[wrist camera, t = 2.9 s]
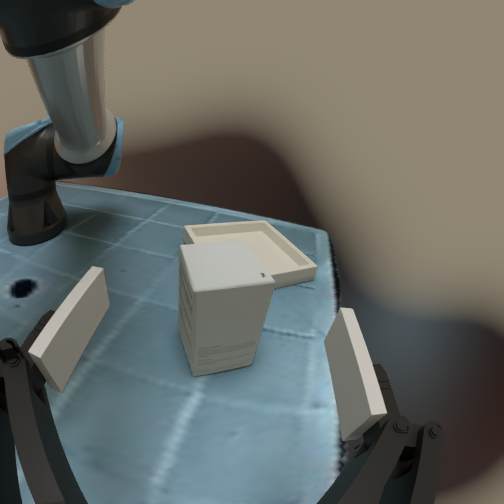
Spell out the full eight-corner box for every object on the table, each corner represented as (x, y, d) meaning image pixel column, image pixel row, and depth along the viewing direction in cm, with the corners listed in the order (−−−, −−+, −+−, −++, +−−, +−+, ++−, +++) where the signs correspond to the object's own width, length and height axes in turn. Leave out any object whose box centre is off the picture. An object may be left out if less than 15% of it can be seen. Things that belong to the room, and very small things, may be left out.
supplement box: (232, 322, 35) (247, 239, 29) (253, 366, 30) (279, 281, 23) (177, 330, 32) (178, 242, 26) (190, 378, 27) (193, 290, 20)
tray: (183, 239, 52) (184, 225, 50) (262, 232, 60) (265, 220, 59) (218, 300, 39) (220, 284, 37) (312, 280, 47) (317, 266, 46)
